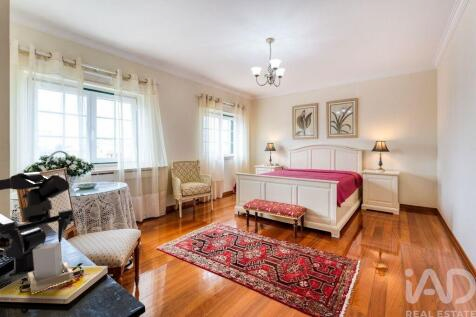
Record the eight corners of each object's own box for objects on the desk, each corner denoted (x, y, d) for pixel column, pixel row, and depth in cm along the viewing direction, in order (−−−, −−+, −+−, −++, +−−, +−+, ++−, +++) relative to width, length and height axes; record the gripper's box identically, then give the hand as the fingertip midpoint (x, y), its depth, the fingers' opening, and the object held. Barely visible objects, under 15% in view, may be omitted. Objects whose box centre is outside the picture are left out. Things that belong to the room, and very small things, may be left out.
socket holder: (27, 281, 72) (27, 272, 72) (66, 270, 79) (66, 261, 79) (32, 294, 65) (32, 284, 65) (73, 280, 73) (73, 271, 73)
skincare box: (63, 275, 75) (62, 241, 74) (56, 283, 71) (55, 247, 70) (42, 278, 74) (40, 243, 73) (33, 286, 69) (32, 249, 68)
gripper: (-10, 201, 66) (-11, 252, 60) (67, 187, 77) (73, 229, 71) (5, 215, 75) (5, 261, 68) (72, 200, 85) (78, 239, 79)
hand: (41, 247), depth 71 cm, fingers open, 9 cm apart
